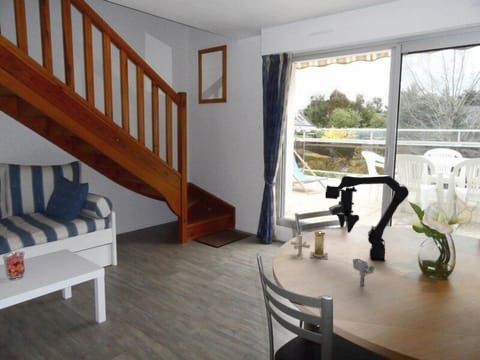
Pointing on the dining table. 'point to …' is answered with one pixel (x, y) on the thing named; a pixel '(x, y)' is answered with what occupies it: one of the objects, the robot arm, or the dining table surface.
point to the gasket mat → (319, 257)
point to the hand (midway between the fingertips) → (345, 230)
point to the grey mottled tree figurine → (362, 269)
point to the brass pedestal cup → (319, 244)
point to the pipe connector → (300, 245)
